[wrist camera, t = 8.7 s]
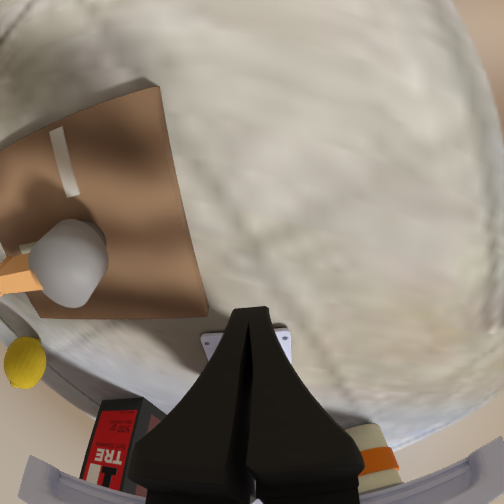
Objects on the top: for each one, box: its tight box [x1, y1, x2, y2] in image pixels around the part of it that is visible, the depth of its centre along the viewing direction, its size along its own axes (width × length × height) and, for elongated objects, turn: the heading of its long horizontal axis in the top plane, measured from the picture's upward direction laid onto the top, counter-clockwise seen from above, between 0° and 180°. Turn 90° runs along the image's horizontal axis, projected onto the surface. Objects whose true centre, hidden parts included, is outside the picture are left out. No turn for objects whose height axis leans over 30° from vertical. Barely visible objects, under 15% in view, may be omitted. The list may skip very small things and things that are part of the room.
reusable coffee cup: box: [345, 424, 404, 496], centre depth 33 cm, size 12×13×15 cm
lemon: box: [4, 336, 46, 389], centre depth 24 cm, size 6×6×8 cm
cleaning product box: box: [79, 397, 167, 498], centre depth 29 cm, size 16×9×20 cm, turn 24°
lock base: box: [0, 87, 209, 319], centre depth 18 cm, size 17×19×3 cm
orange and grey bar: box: [0, 219, 109, 308], centre depth 16 cm, size 12×5×3 cm, turn 100°
